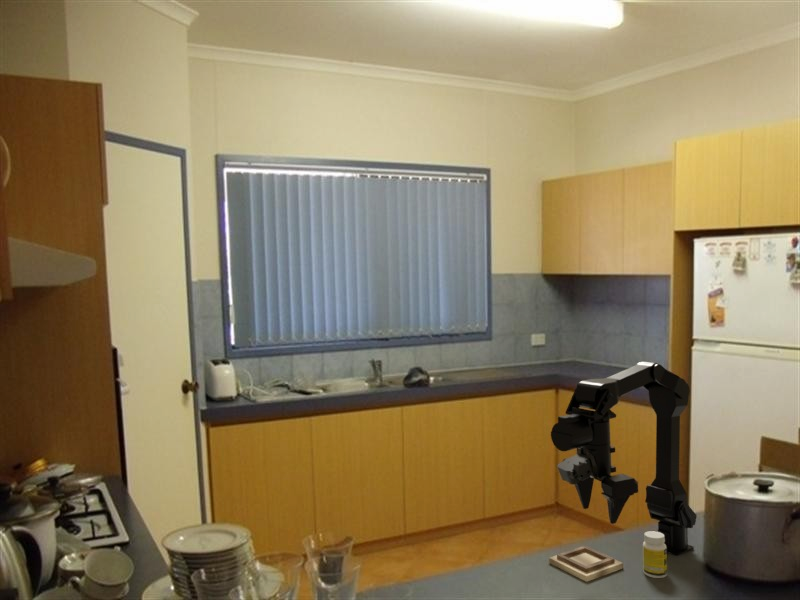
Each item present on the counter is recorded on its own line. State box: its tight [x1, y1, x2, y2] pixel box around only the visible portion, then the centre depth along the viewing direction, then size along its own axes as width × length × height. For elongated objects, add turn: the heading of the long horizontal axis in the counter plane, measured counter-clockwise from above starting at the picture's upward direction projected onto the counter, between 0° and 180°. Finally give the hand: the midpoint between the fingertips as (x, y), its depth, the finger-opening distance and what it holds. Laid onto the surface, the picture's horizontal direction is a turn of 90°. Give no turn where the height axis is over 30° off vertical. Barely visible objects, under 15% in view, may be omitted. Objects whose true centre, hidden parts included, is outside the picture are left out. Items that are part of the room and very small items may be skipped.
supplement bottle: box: [642, 530, 668, 579], centre depth 138 cm, size 5×5×8 cm
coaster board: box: [548, 545, 624, 583], centre depth 143 cm, size 11×11×2 cm
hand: (599, 515), depth 136 cm, fingers open, 9 cm apart
